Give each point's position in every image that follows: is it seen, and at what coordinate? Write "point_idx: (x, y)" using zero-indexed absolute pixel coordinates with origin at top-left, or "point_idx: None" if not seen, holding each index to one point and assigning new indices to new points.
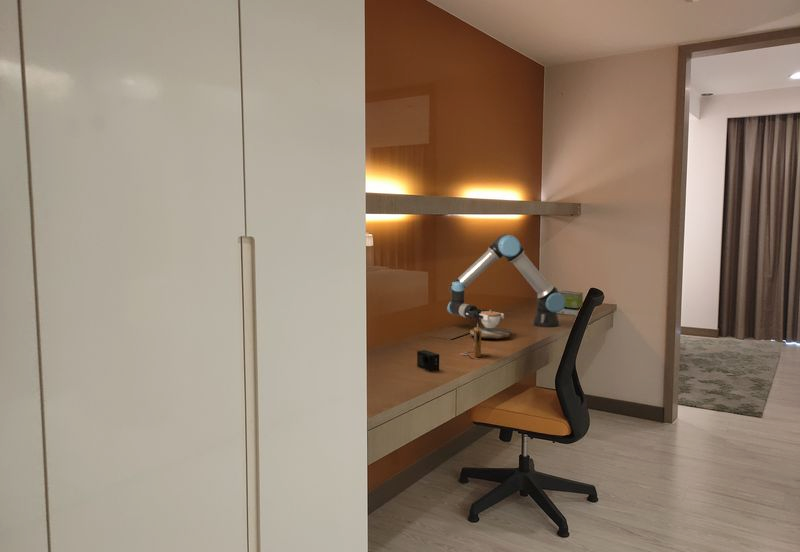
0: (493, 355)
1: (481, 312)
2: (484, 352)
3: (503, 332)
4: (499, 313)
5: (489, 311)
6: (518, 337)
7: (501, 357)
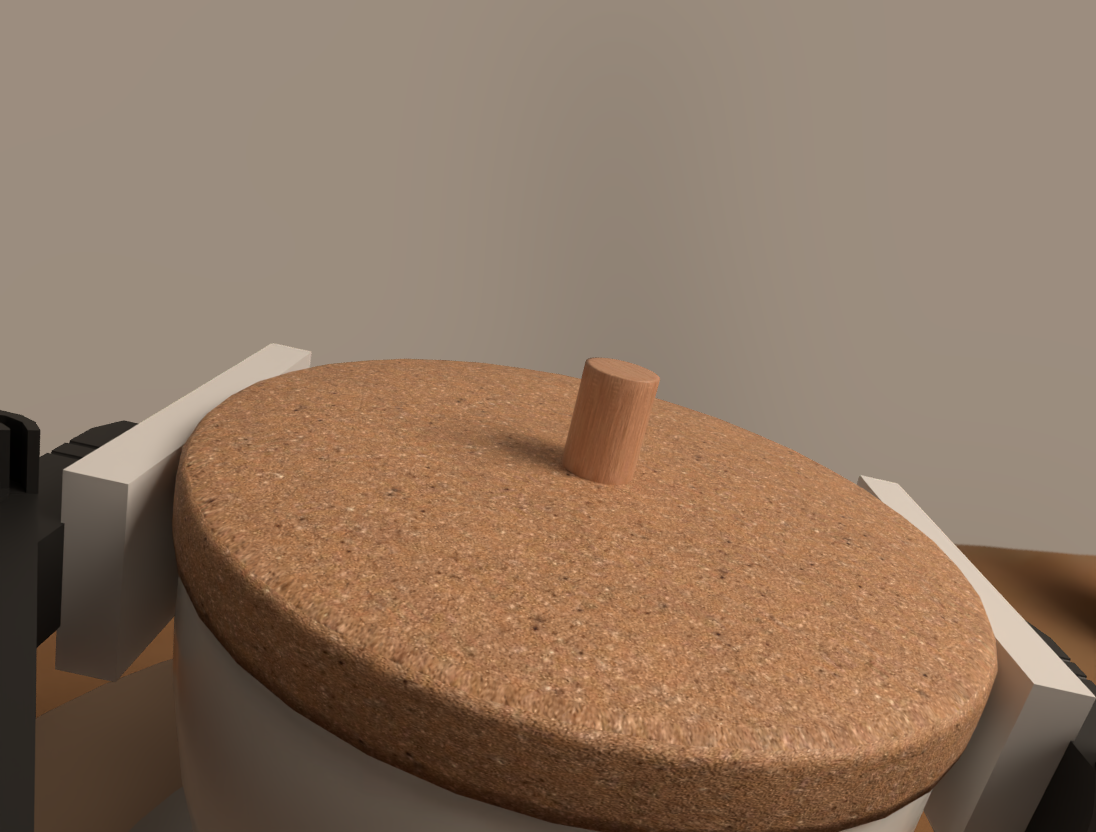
0: (1014, 590)
1: (945, 665)
2: (1071, 660)
3: None
4: (461, 362)
5: (424, 528)
6: (50, 685)
7: (969, 547)
